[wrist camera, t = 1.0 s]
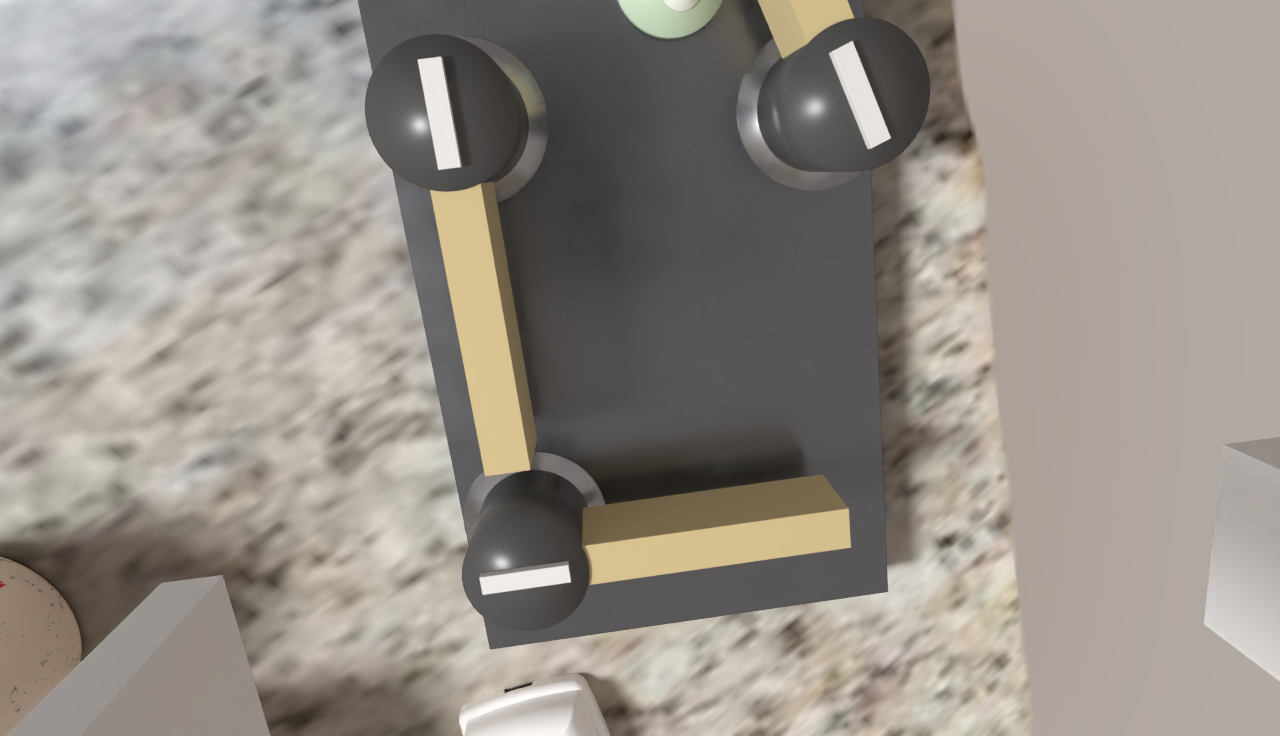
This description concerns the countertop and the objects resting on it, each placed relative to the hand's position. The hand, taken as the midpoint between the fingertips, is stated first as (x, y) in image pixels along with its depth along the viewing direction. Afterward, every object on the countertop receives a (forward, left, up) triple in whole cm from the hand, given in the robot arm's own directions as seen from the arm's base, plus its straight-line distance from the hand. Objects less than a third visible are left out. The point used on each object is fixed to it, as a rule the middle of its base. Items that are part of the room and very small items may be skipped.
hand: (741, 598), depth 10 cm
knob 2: (+8, -1, -20) cm, 22 cm away
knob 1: (-3, -6, -20) cm, 21 cm away
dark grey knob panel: (0, 0, -23) cm, 23 cm away
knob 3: (-11, +6, -20) cm, 24 cm away
